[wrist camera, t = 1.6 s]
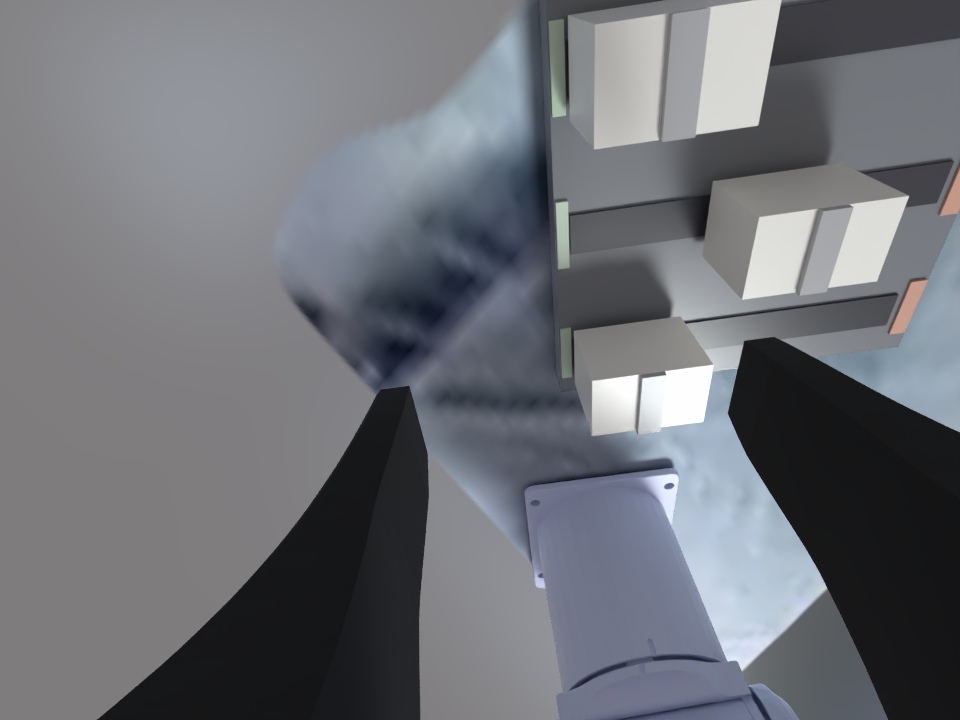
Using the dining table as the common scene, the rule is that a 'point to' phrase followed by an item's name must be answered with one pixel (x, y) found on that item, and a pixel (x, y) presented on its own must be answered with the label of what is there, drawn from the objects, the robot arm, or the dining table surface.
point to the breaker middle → (800, 230)
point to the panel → (753, 151)
